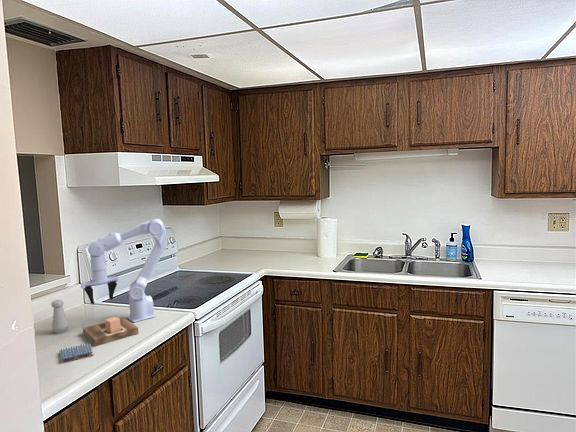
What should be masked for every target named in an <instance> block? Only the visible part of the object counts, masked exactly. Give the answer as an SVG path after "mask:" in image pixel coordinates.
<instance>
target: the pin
mask: <svg viewBox="0 0 576 432" xmlns="http://www.w3.org/2000/svg"><path fill="white" fill-rule="evenodd" d="M104 322H105V328H106V333H108V334H112V333H116V332H119V331H121V325H120V319H119V317H116V316H113V317H110V318H106V319H104Z"/></svg>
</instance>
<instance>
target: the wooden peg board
mask: <svg viewBox="0 0 576 432" xmlns="http://www.w3.org/2000/svg"><path fill="white" fill-rule="evenodd" d="M118 318H119V317H118ZM119 319H120V325H121V331H119V332H116V333H112V334H108V333H106V328H105V321H104V322H101V323H97V324H94V325H90V326H85V327H83V328H82V333H83V334H82V335H84V337H86V338H87V340H89V342H91V343H92V344H93V345H94V346H95V347H97V346H102V345H105V344H108V343H111V342H114V341H118V340H121V339H125V338H128V337H132V336H135V335H139V333H140V332H139V327H138V326H137V325H135V324H134V323H133V322H132V321H129V319H128V318H126V317H120V318H119ZM127 319H128V320H127Z"/></svg>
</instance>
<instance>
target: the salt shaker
mask: <svg viewBox="0 0 576 432" xmlns="http://www.w3.org/2000/svg"><path fill="white" fill-rule="evenodd" d="M64 303H65V302H64V300H62V299H56V300H53V301H52V302H51V304H50V305H51V308H53V312H52V322H51V329H52V331H53V332H54V333H55V334H62V333H65V332H66V331H67V329H68V327H69V322H68V320H67V317H66V314H65V313H66V312H65V311H64V307H63V306H64Z"/></svg>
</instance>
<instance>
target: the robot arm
mask: <svg viewBox="0 0 576 432" xmlns="http://www.w3.org/2000/svg"><path fill="white" fill-rule="evenodd" d="M166 229H167V228H166V226H165V223H164V222H163V220H162V219H160V218H153V219H151V220H147V221H144V222H141V223H139V224H136V226H133V227H131V228H129V229H127V230H125V231H122V232H121V233H118V232H110V233H109V234H108V235H107V236H105V237H102V238H97V240H94V241H93V242H92V243H91V244H89V245H88V254H89V258H90V259H89V260H90V270H91V280H88V281H84V282H81V283H80V288H81V289H83V290H84V292H85V293H86V294H87V297H88V300H89V302H90V304H91V305H94V304H95V301H94V289H93V287H95V286H101V285H105V284H107V287H108V296H109V297H108V298H109V300H110V301H112V300H113V299H114V295H115V290H116V288H117V285H118V283H117V282H119V277H118V276H109V277H108V274H107V264H106V258H105V252H109V251H111V250H113V249H115V248H117V247H119V246H122V244H123V242H124V241H126V240H128V239H130V238H133V237H135V236H137V235H140V234H145V235H149V234H150V235H151V236H152V238H153V239H154V242H155V244H154V246H153V247H152V250H151V251H150V253H149V255H148V257H147V259H146V261H145V263H144V265H143V266H142V268H141V270H140V272H139V274H138V276H137V277H136V279H135V280H134V281H132V283H131V284H130V285H129V290H128V297H129V298H128V306H129V316H127V317H126V319H128V321H129V320H130V322H131V323H137V322H142V321H144V320H149V319H152V318H155V317H156V315H155V306H154V300H153V297H152V296H151V295H147V294H146V293H145V289H146V287H147V284H148V283H149V280H150V278H151V276H152V274H153V273H154V271H155V269H156V267H157V266H158V263H159V261H160V259H161V257H162V255H163V254H164V252H165V249H166V247H167V246H168V244H169V243H168V238H167V237H168V235H167V230H166Z"/></svg>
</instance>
